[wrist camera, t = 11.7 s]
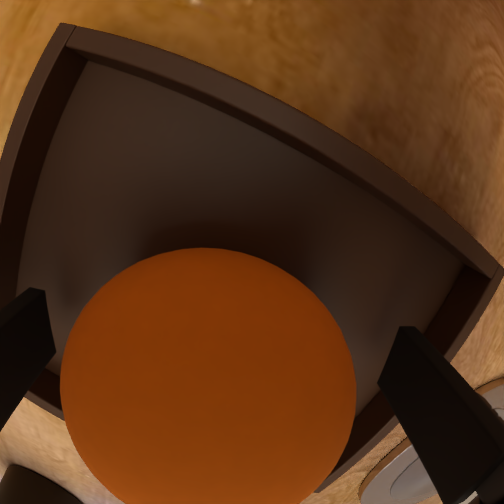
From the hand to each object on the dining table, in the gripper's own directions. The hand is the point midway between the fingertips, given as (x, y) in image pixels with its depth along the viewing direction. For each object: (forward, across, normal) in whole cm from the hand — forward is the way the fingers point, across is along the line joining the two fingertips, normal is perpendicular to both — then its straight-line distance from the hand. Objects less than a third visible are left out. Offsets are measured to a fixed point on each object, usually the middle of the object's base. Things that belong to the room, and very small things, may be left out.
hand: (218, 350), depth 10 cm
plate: (+2, +21, -14) cm, 25 cm away
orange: (-2, 0, 0) cm, 2 cm away
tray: (+2, 0, 0) cm, 2 cm away
